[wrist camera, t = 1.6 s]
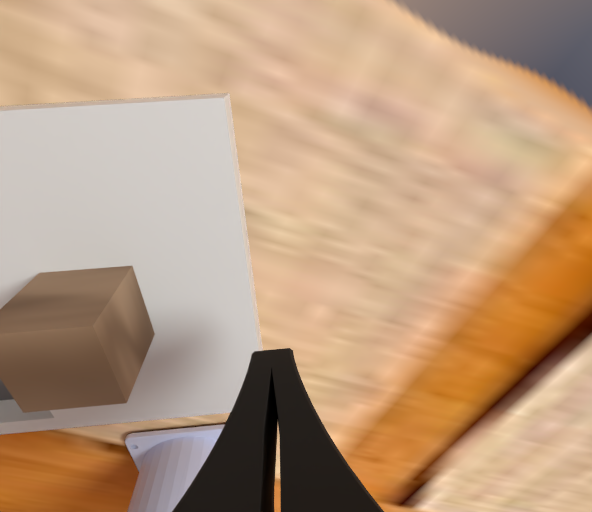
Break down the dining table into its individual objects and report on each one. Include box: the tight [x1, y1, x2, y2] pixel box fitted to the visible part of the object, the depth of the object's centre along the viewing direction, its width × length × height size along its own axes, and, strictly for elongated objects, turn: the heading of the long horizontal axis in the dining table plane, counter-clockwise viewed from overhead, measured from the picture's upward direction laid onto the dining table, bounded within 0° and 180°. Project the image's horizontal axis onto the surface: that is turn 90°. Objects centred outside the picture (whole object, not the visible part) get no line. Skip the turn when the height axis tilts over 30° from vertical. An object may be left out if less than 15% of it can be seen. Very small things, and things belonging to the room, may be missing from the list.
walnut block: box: [0, 266, 155, 413], centre depth 14 cm, size 4×4×4 cm
